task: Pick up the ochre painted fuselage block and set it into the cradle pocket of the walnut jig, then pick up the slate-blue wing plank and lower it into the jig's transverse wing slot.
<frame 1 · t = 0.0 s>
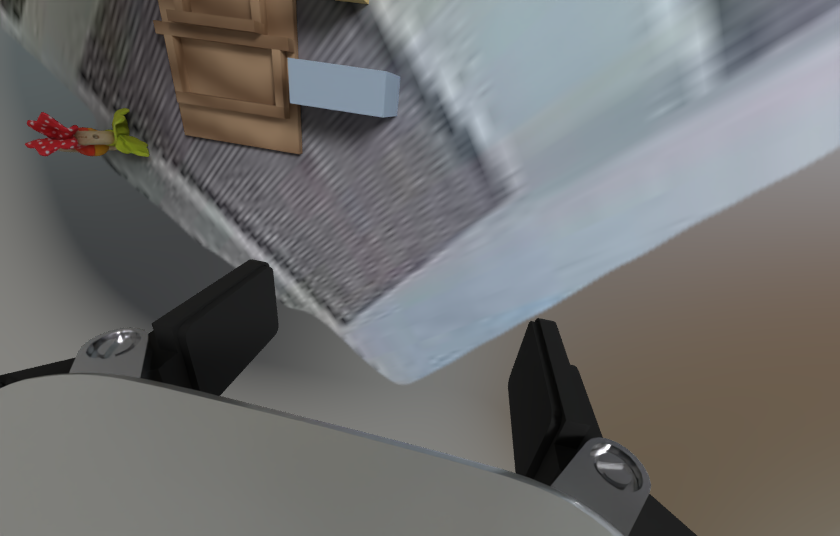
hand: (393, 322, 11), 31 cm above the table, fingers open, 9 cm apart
bird rattle: (129, 138, 45), on the table
jig: (229, 10, 36), on the table
wing plank: (356, 90, 37), on the table
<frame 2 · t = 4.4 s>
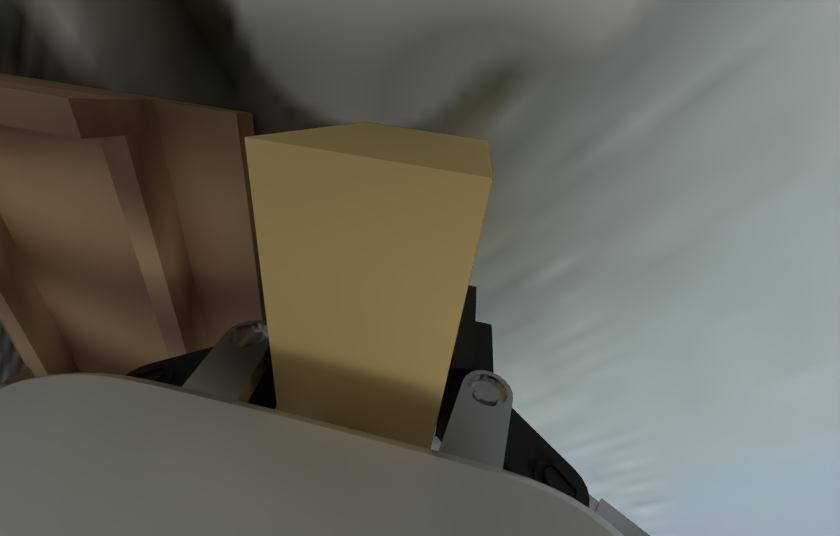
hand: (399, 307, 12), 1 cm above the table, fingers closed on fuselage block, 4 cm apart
jig: (150, 363, 18), on the table
fuselage block: (405, 289, 13), on the table, touching gripper
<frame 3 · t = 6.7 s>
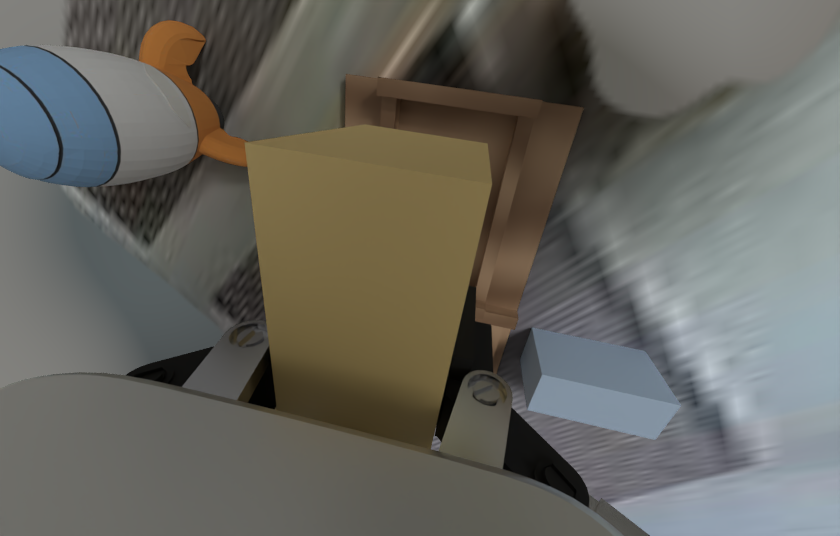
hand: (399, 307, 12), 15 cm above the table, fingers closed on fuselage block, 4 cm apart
jig: (431, 268, 28), on the table
fuselage block: (405, 291, 13), point 14 cm above the table, touching gripper
wing plank: (579, 354, 30), on the table
toy rocket: (218, 100, 25), on the table
when the fingers open (3 cm above the table, at t = 9.3 s): fuselage block drops 1 cm, resting on jig.
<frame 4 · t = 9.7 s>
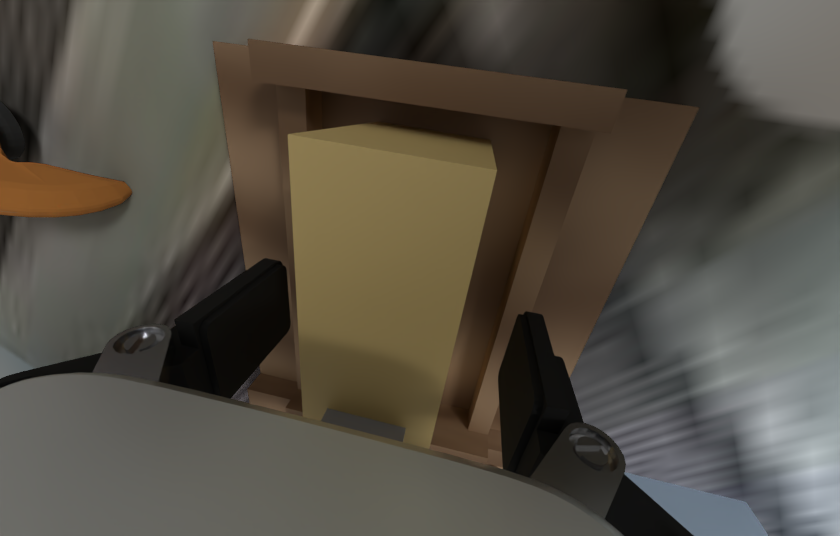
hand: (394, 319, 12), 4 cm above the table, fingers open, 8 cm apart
jig: (400, 368, 18), on the table
fuselage block: (412, 278, 14), point 1 cm above the table, touching jig
wing plank: (634, 495, 19), on the table
toy rocket: (20, 94, 15), on the table
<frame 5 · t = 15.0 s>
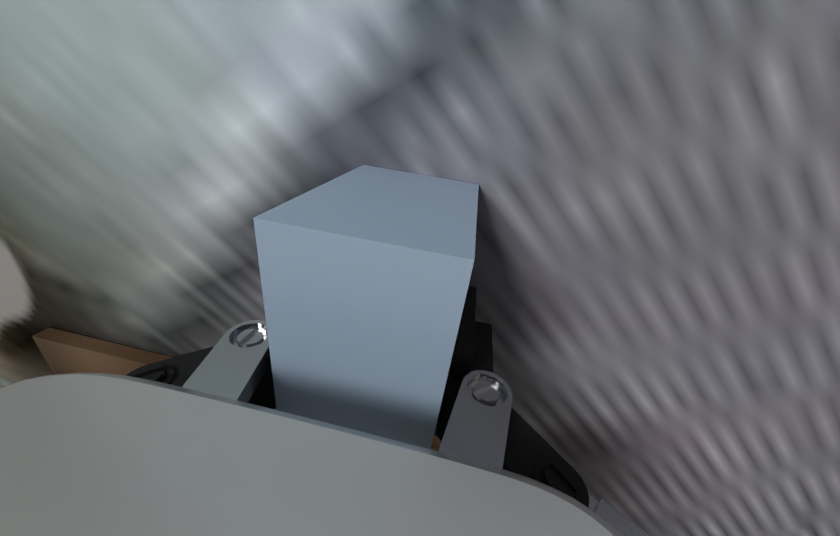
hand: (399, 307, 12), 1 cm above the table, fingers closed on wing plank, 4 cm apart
jig: (288, 470, 21), on the table
wing plank: (404, 297, 13), on the table, touching gripper
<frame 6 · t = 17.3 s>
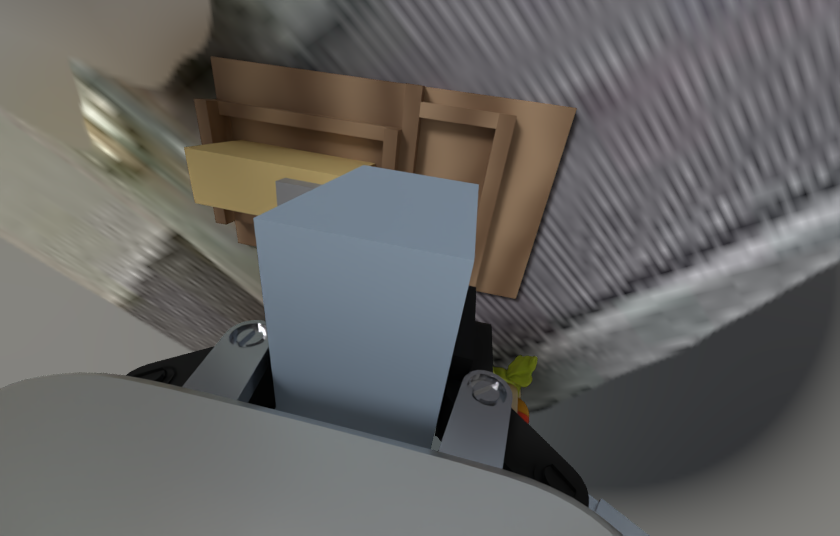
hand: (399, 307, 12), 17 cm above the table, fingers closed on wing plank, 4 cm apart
bird rattle: (508, 373, 35), on the table
jig: (378, 186, 28), on the table
fuselage block: (307, 175, 28), point 1 cm above the table, touching jig
wing plank: (404, 297, 13), point 16 cm above the table, touching gripper
when the fingers open (3 cm above the table, at t = 20.2 s): wing plank drops 2 cm, resting on jig.
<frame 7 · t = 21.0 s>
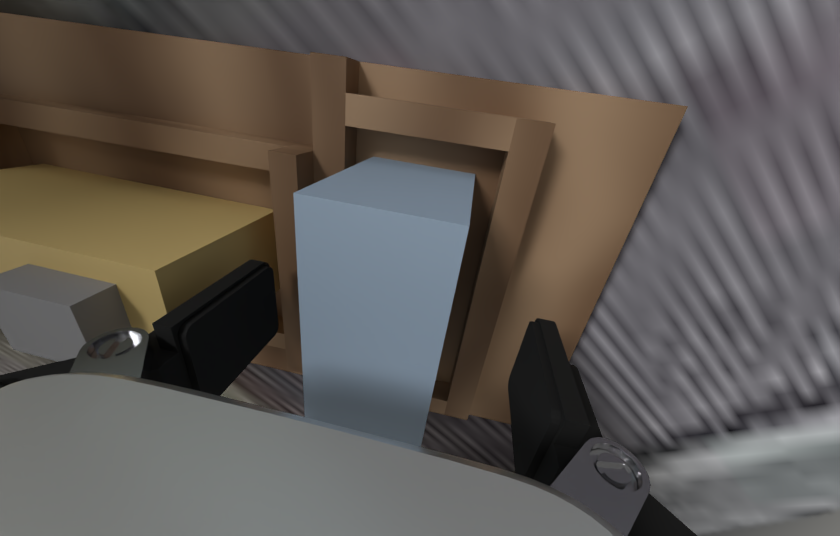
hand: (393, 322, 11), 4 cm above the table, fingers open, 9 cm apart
jig: (296, 245, 16), on the table
fuselage block: (166, 226, 16), point 1 cm above the table, touching gripper, jig
wing plank: (408, 277, 15), point 1 cm above the table, touching jig
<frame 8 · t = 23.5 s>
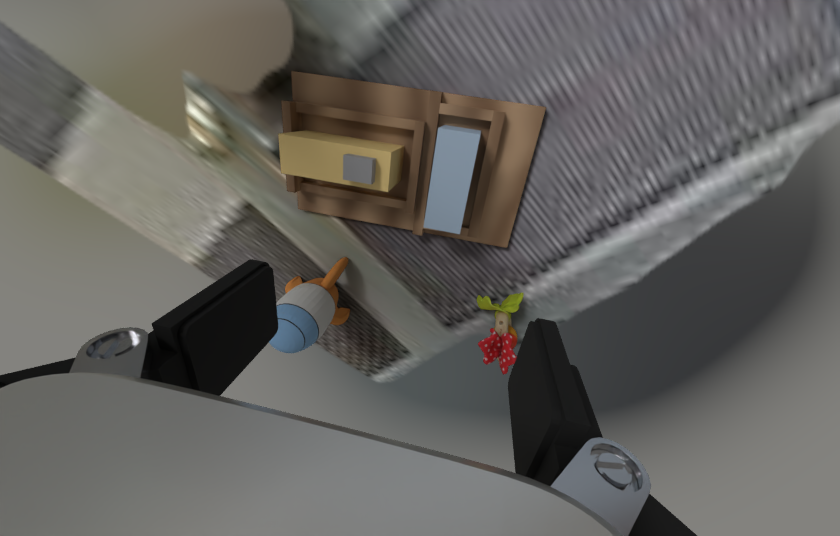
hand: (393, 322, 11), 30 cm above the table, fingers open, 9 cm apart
bird rattle: (502, 311, 46), on the table
jig: (407, 163, 39), on the table
fuselage block: (354, 155, 39), point 1 cm above the table, touching jig
wing plank: (454, 173, 37), point 1 cm above the table, touching jig
toy rocket: (323, 279, 49), on the table
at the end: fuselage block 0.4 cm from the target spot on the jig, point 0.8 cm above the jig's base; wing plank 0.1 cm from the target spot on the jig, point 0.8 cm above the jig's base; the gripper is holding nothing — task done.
